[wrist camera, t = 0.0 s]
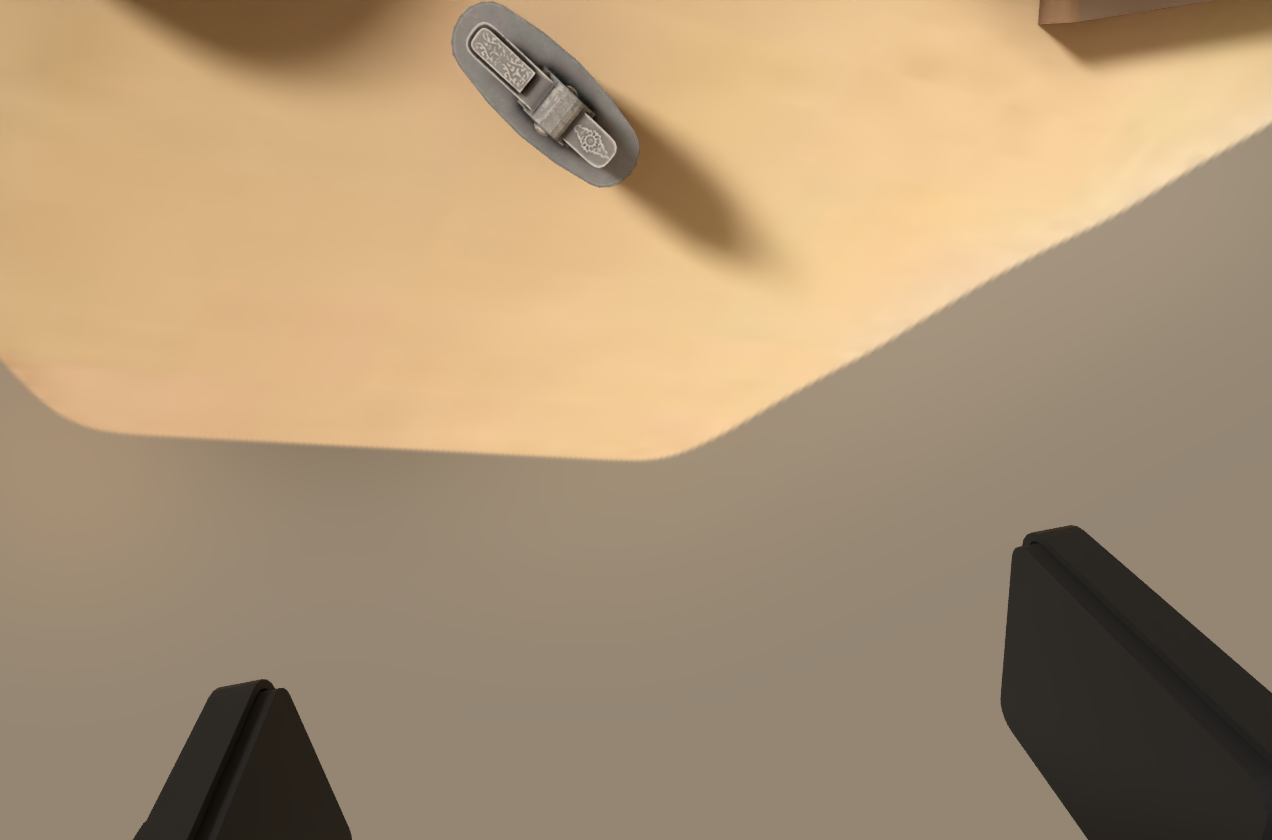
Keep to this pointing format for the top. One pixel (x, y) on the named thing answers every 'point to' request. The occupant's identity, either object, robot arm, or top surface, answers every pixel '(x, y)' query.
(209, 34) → the top surface
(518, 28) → the lighter
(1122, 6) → the wooden compartment tray
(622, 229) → the top surface
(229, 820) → the robot arm
